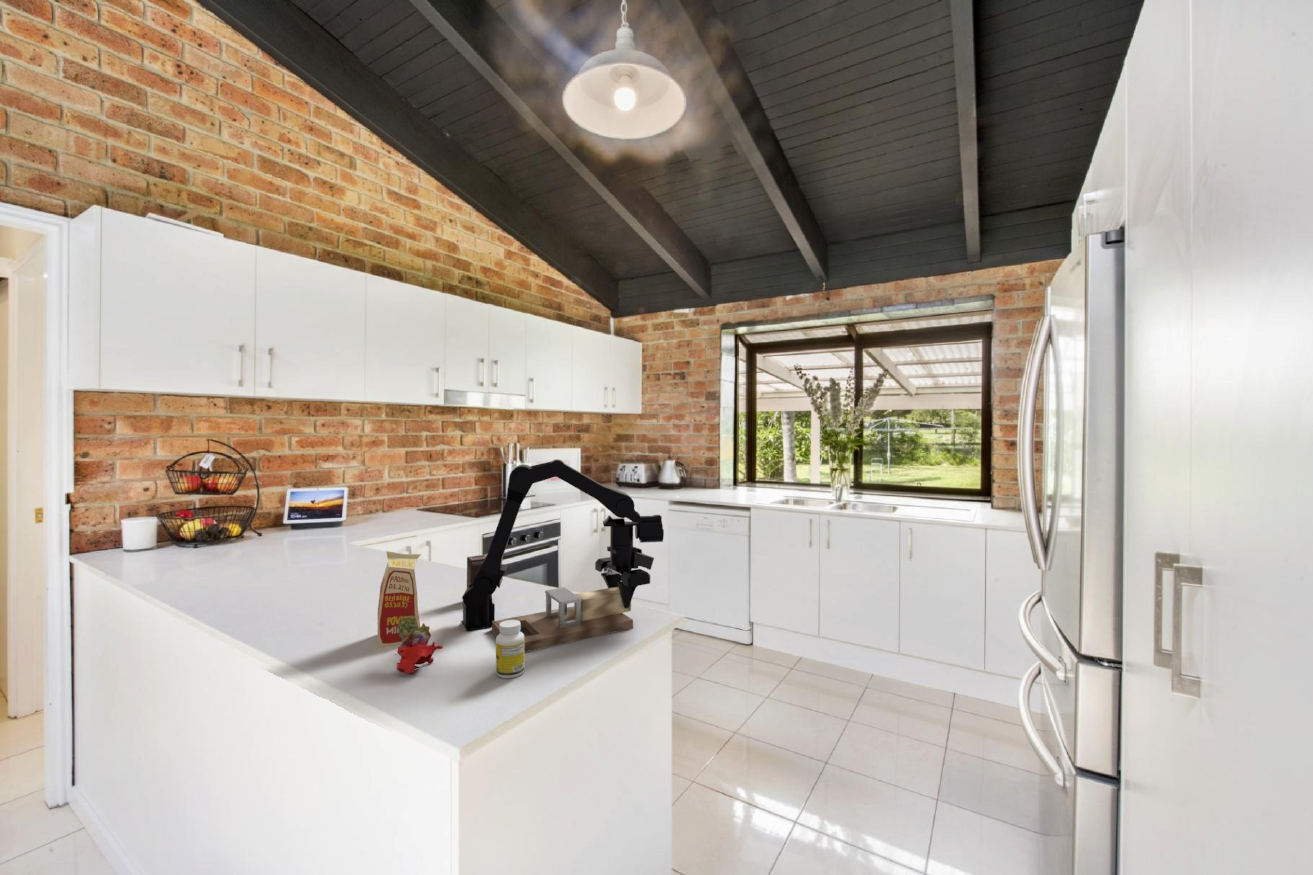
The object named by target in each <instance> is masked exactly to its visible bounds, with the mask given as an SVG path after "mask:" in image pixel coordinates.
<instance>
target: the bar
mask: <svg viewBox="0 0 1313 875" xmlns="http://www.w3.org/2000/svg"><path fill="white" fill-rule="evenodd" d="M574 594H575V595H577V596H578V597H580V598H581V620H583V621H584V620H589V619H594V618H599V617H604V616H609V615H614V614H619V613H623V614H625V613H628V612H631V611H632V602H631V603H630V606H629V608H624V605H623V602H622V598H621V595H620V591H619V588H618V587H613V588H608V587H607V588H603V589H597V590H590V591H584V592H579V593H574ZM573 605H574V615H575V603H573Z"/></svg>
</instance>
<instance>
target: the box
mask: <svg viewBox="0 0 1313 875" xmlns="http://www.w3.org/2000/svg"><path fill="white" fill-rule="evenodd" d="M486 556H487V554H481V555H480V554H479V555H474V556H473V555H472V556H467V557H466V588H467V587H468V586H469V585H470V584H471V583H472V582H473V579H474V578H475V576H476V574H477V572H478V570H479V568H480V567H481V565H482V563H483V561H484V560H485V558H486ZM492 595H493V594H491V595H489V596H490V597H491V598H492V599H493V596H492Z"/></svg>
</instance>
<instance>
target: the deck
mask: <svg viewBox="0 0 1313 875" xmlns="http://www.w3.org/2000/svg"><path fill="white" fill-rule="evenodd" d="M557 610H559V608H557V609H553V610H552V609H551V612H552V611H557ZM506 620H518V621H520V623H521V628H520V629H521V630H520V632H522V633H523V634H524V652H530V651H535V650H541V649H544V648H549V647H552V646H558V645H562V644H567V643H571V642H576V641H580V640H585V639H590V638H593V637H598V636H602V635H608V634H613V633H616V632H621V631H626V630H630V629H634V619H632V618H631V617H629V616H628V615H626V614H625V613H619V614H614V615H609V616H604V617H599V618H594V619H589V620H584V621H583V620H581V622H580V625H576V626H571V627H566V628H561V629H560V628H559V616H555V617H550V618H547V617H546V611H541V612H536V613H530V614H525V615H519V616H514V617H510V618H503V619H499V620H494V621H492V626H491V631H492V632H493V633H494V634H495V636H496V637H497V636H498V635H499V634H500V631H499V625H500V623H501V622H503V621H506ZM571 620H575V615H574V606H567V614H566V615H564V622H566V621H571Z"/></svg>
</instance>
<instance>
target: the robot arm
mask: <svg viewBox="0 0 1313 875" xmlns="http://www.w3.org/2000/svg"><path fill="white" fill-rule="evenodd" d="M552 478H559V479H560V480H562V481H563V482H565V483H567V484H569V485H570V486H572V487H574V488H576V489H578V490H579V491H581V492H583V493H584V494H586V495H588V496H590V497H592V498H593V499H596V501H598V502H599V503H600V504H602V505H603V507H605V508H606V510H609V511H610V512H611V513H612V514H613V515H614V516H615V517H617V518H613V517H612V516H611V515H607V518H606V519H605V520H602V525H603V527H610V539H609V540H610V542H609V543H610V545H609V546H606V550H607V552H610V554H609V557H602V558H598V559H597V560H596V561H595V564H594V566H595V567H594V569H595V571H597V572H600V575H601V577H602V578H603V580H604V583H605V584H606V586H607V588H613V587H618V588H619V591H620V595H621V598H622V602H623V605H624V608H629V606H630V603H631V604H632V600H633V596H634V594H635V590H636V589H637V587H639V586H643V585H650V584H651V574H650V573H649V572H648V571H646V570H651V569H652V566H653V563H654V561H655V560H654V559H655V557H653V556H650V555H647V554H645V553H643V550H642V549H641V548H639V547H635V546H634V537H635V539H637V540H639V543H641V544H643V543H663V541H664V528H663V521H662V517H663V516H662V515H660V514H654V515H641V514H640V513H639V512H638V511H636V509H635V502H634V500H633V499H632V496H630V495H629V494H628V493H626V492H623V491H621V490H618V489H616V488H612V487H609V486H606V485H604V484H601V483H600V482H597V481H596V480H595V479H593V478H591V477H589V476H588V475H586V474H585V473H584V474H583V472H580V471H579V470H577V469H575V468H574V467H572V466H570V465H568V464H566V463H565V462H564V461H563V460H561V459H557V458H556V459H553V460H552V461H547V462H544V463H539V464H535V465H528V464H519V465H517V466H516V467H514V468H513V470H512V471H511V472H510V473H509V476H508V482H507V483H508V484H507V489H506V490H507V491H506V499H505V503H504V506H503V508H502V512H501V514H500V517H499V520H498V523H497V527H495V528H496V529H495V531H494V534H493V538H492V540H491V542H490V545H489V549H488V552H487V554H486V555H487V556H486V558H485V560H484V561H483V563H482V565H481V567H480V568H479V570H478V572H477V574H476V576H475V578H474V579H473V582H472V583H471V584H470V585H469V586H468V587H467V586H466V589H465V590H464V593H463V595H462V597H461V599H462V620H461V621H460V623H461V625H462V626H463V628H465V631H468V632H469V631H474V630H479V629H484V628H489V627H491V628H492V621H496V619H495V614H496V611H495V610H496V607H495V606H496V605H495V603H493V597H492V598H491V597H490V596H489V595H491V594H492V595H493V594H495V592H496V591H497V588H498V589H500V587H501V586H502V583H503V581H504V580H503V576H504V575H505V573H506V570H507V567H508V564H505V563H504V564H503V560H504V554H505V551H506V549H507V546H508V543H509V540H510V537H511V533H512V531H513V528H514V525H515V523H516V520H517V517H518V513H520V508H521V506H522V503H523V502H524V500H525V498H526V496H527V495H528V493H529V491H530V489H531V488H532V486H533V484H537V483H539V482H543V481H546V480H548V479H552ZM625 518H626V519H627V520H628V521H625ZM639 567H640V568H639ZM642 568H644V569H646V570H643V569H642Z"/></svg>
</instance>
